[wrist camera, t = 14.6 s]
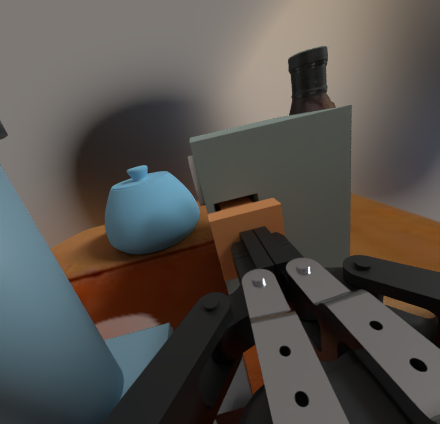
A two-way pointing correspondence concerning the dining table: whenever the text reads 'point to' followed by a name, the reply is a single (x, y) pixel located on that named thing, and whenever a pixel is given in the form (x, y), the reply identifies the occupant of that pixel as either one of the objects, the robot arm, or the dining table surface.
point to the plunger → (241, 225)
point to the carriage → (55, 334)
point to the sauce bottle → (309, 81)
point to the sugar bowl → (149, 212)
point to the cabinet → (285, 176)
